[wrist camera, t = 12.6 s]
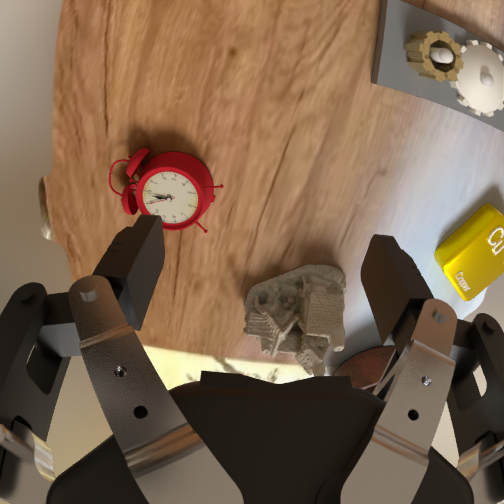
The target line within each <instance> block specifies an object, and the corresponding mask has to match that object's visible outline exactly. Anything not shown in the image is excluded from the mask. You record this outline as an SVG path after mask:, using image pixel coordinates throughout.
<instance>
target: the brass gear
mask: <svg viewBox="0 0 504 504" xmlns="http://www.w3.org/2000/svg"><path fill="white" fill-rule="evenodd" d="M410 35H411V37H412V38H411V39H409V41H408V43H405V46H404V50H405V51H407V55H406V56H407V57H408V59H409V60H408V61H407V63H408V65H409V67H410V68H411V69H415V71H417V72H420V74H419V76H421V77H424V78H427V79H431V80H435V81H439V82H442V81H443V80H448V81H454V80H456V79H457V76H456V75H457V74H458V73H459V71H460V69H463V65H464V62H463V61H461V58H462V56H461V54H460V51H461V48H460V46H459V44H458V43H455V42H454V40H453V39H451V38H449V34H448V33H446V32H444V31H416V32H414V33H412V34H410ZM432 43H433V44H434V46H435V48H446V49H448V50H450V51H451V53H452V55H453V60H452V62H450V63H441V62H438V65H436V66H435V67H434V66H433V64H432V62H431V60H430V59H429V57H428V56H429V49H430V44H432Z"/></svg>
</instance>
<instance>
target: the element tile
mask: <svg viewBox="0 0 504 504" xmlns="http://www.w3.org/2000/svg"><path fill="white" fill-rule="evenodd" d="M434 257H435V260H436V261H437V263H438V265H439V266H440V268H441V269H442V271H443V272H444V274H445V275H446V277H447V278H448V279H449V281H450V282H451V284H452V285H453V286H454V288H455V289H456V291H457V292H458V294H459V295H460V297H461V298H462V299H463V300H464V301H470V300H471V299H473V298H474V297H475V296H477V295H478V294H479V293H480V292H481V291H483V290H484V289H485V288H486V287H487V286H488V285H490V284H491V283H492V282H493V281H494V280H495V279H496V278H498V276H500V275H501V274H502V273H503V272H504V216H503V215H502V214H501V213H500V212H499V211H498V210H497V209H496V208H495V207H494V206H493V205H492V204H490V203H487V204H485V205H483V206H482V207H481V208H480V209H479V210H478V211H477V212H476V213H475V214H474V215H473V216H472V217H471V218H470V219H469V220H467V221H466V222H465V223H464V224H463V225H462V226H461V227H460V228H459V229H458V230H457V231H456V232H454V233H453V234H452V235H451V236H450V237H449V238H448V239H447V240H445V241H444V242H443V243H442V244H441V245H440V246H439V247H438V248H437V249H436V251H435V254H434Z"/></svg>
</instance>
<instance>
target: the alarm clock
mask: <svg viewBox="0 0 504 504" xmlns="http://www.w3.org/2000/svg"><path fill="white" fill-rule="evenodd" d="M147 153H150V150H149V149H147V148H142V149H140V150H138V151H137V152H136V153H135V155H134V156H133V157H131V156H130V155H129V156H128V157H129V158H130V159H129V160H125V159H122V160H117V161H116V162H114V163H113V165H112V166H111V169H110V173H109V185H110V188H111V189H112V191H113V192H115V193H116V194H118V195H120V196H122V199H121V201H122V206H123V209H124V211H125V212H126V213H127V214H129V215H134V214H136V212H137V211H138V208H139V210H140V212H141V213H142V214H147V215H160V216H161V218H162V224H163V229H165V230H181V229H185V228H187V227H189V226H191V225H192V224H194V223H196V224H197V225H198V226H199V227H201V228H202V229H203V230H204V232H205V233H207V230H205V229H204V228H203V227H202V226H201V225H200V224H199V223H198V222H197V220H198V219H199V218H200V217H201V215H202V214H203V213H204V212H205V211H206V210H207V209H208V207H209V205H210V203H211V202H214V199H215V196H213V193H214V188H219V187H221V188H223V185H220V186H214V185H213V180H212V177H211V175H210V173H209V171H208V169H207V168H206V167H205V166H204V165H203V164H202V163H201V162H200V161H199V160H198V159H196V158H195V157H193V156H191V155H189V154H186V153H182V152H166V153H163V154H160V155H158V156H156V157H154V158H153V159H152V160H151V161H149V162H148V164H147V165H146V166H145V167H144V169H143V171H142V173H141V175H140V174H138V173H137V171H138V169H139V168H140V166H141V165H142V164H140V162H141V160H142V159H143V158H144V156H145V155H146V154H147ZM121 161H126V162H129V163H128V166H127V169H126V173H127V175H128V176H129V177H132V176H133V175H134V174H135V173H136V174H137V175H139V176H140V180H139V182H138V181H135V180H132V178H130V182H132V181H133V182H136V183H138V185H137V186H136V184H130V185H128V186H126V187H125V189H124V190H123V193H122V194H120V193H118V192H116V191H115V190H114V189H113V188H112V186H111V172H112V168H113V166H114V165H115V164H116V163H117V162H121ZM134 187H137V189H133V188H134ZM134 190H136V199H135V198H134V197H133V195H132V191H134Z"/></svg>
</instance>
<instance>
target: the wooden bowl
mask: <svg viewBox="0 0 504 504" xmlns="http://www.w3.org/2000/svg"><path fill="white" fill-rule="evenodd" d="M395 350H396V347H395V346H381V347H376V348H372V349H369V350H366V351H363V352H361V353H359V354H357V355H355V356H353V357H351V358H350V359H348V360H347V361H345V362H344V363H343V364H342V365H341V366H340V367H339V368H338V369H337V371H336V372H335V374H334V376H350V379H351V384H352V386H354V387H357V388H361V389H363V390H366V391H368V392H370V393H373V391H374V390H375V388H376V386H377V384H378V382H379V380H380V378H381V376H382V374H383V372H384V370H385V368H386V366H387V364H388V362H389V360H390V358H391V356H392V354H393V353H394V351H395Z"/></svg>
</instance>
